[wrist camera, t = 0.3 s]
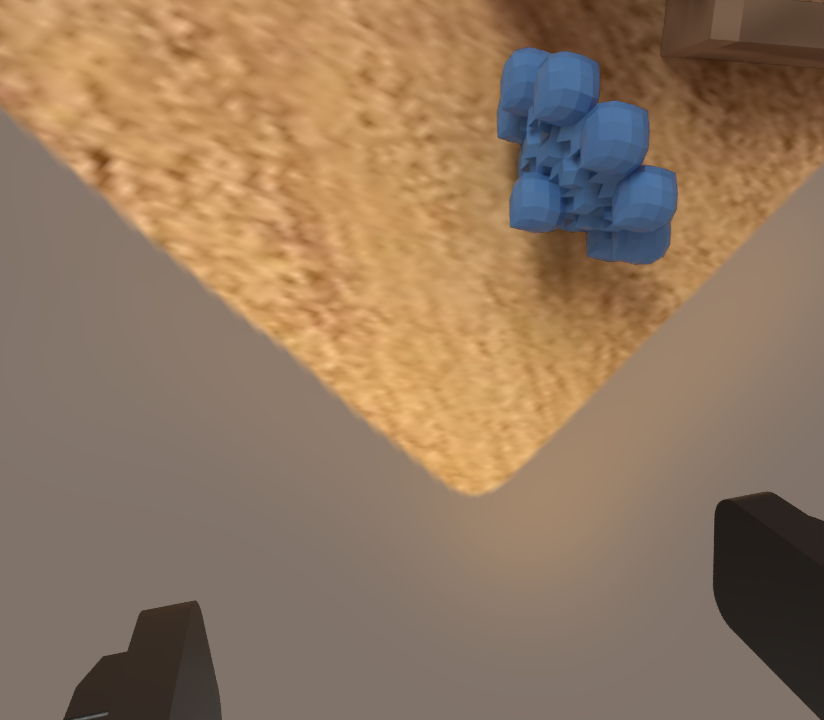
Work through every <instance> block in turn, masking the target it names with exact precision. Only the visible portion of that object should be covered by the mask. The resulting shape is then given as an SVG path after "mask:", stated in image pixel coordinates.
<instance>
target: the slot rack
mask: <svg viewBox="0 0 824 720" xmlns="http://www.w3.org/2000/svg"><path fill="white" fill-rule="evenodd" d="M661 56H672V57H685V58H698V59H711V60H724V61H736V62H749V63H762V64H775V65H788V66H801V67H814V68H824V3H818V2H808V1H798V0H667V3H666V12H665V21H664V30H663V39H662V48H661Z"/></svg>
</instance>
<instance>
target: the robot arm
mask: <svg viewBox="0 0 824 720" xmlns="http://www.w3.org/2000/svg"><path fill="white" fill-rule="evenodd" d="M714 520H715V521H714V564H713V590H714V596H715V600H716V603H717V606H718V609H719V611H720V613H721V615H722V617H723V619H724V620H725V622H726V623H727V624H728V626H729V627H730V628H731V629H732V630H733V631H734V632H735V633H736V634H737V635H738V636H739V637H740V638H741V639H742V640H743V641H744V642H745V643H746V644H747V645H748V646H749V647H750V648H751V649H752V650H753V651H754V652H755V653H756V654H757V656H758V657H760V659H762V661H763V662H764V663H765V664H766V665H767V666H768V667H769V668H770V669H771V670H772V671H773V672H774V673H775V674H776V675H777V676H778V677H779V678H780V679H781V680H782V681H783V682H784V683H785V684H786V685H787V686H788V687H789V688H790V689H791V690H792V691H793V692H794V693H795V694H796V695H797V696H798V697H799V698H800V699H801V700H802V701H803V702H804V703H805V704H806V705H807V706H808V707H809V708H810V709H811V710H812V711H813V712H814V713H815V714H816V715H817V716H818V717H819V718H820V720H824V521H822V520H819V519H817V518H814V517H811V516H808V515H807V514H805V513H804V512H802V511H801V510H799V509H798V508H796V507H794V506H793V505H791V504H790V503H788V502H787V501H785V500H784V499H782V498H781V497H779V496H778V495H776V494H774V493H772V492H761V493H756V494H751V495H745V496H740V497H735V498H730V499H725V500H722V501H720V502H719V503H718V505H717V507H716V510H715V519H714ZM63 720H222V717H221V704H220V696H219V690H218V685H217V681H216V676H215V671H214V667H213V663H212V658H211V653H210V649H209V644H208V639H207V635H206V631H205V626H204V621H203V616H202V613H201V609H200V606H199V604H198V602H197V601H190V602H184V603H179V604H174V605H169V606H164V607H159V608H154V609H148V610H143V611H141V613H140V614H139V616H138V619H137V623H136V626H135V629H134V632H133V635H132V638H131V642H130V645H129V648H128V651H127V652H123V653H118V654H113V655H108V656H103V657H102V658H101V659H100V661H99V662H98V663H97V664H96V665H95V666H94V667H93V668H92V670H91V671H90V672H89V673H88V674H87V675H86V676H85V678H84V679H83V680H82V681H81V682H80V683H79V685H78V686H77V687H76V689H75V691H74V694H73V696H72V699H71V701H70V704H69V707H68V709H67V712H66V714H65V717H64V719H63Z"/></svg>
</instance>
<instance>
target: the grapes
mask: <svg viewBox="0 0 824 720" xmlns="http://www.w3.org/2000/svg"><path fill="white" fill-rule="evenodd" d="M500 93H501V98H500V102H499V106H498V110H497V133H498V138H500V139H503V140H506V141H509V142H513V143H517V144H521V149H520V153H519V156H518V179H517V180H516V181H515V183H514V186H513V190H512V193H511V197H510V227H512V228H516V229H519V230H523V231H528V232H532V233H541V232H551V231H554V230H555V229H556V228H557V229H560V230H564V231H569V232H587V238H586V248H587V257H591V258H595V259H599V260H603V261H607V262H615V261H622V262H626V263H631V264H635V265H638V264H651V263H653V262H655V261H657V260H659V259H660V258H662V257H664V255H665V253H666V251H667V249H668V247H669V245H670V237H671V220H672V218H673V216H674V214H675V212H676V209H677V197H678V190H677V180H676V173H675V172H672V171H670V170H667V169H664V168H660V167H655V166H651V165H642V163H643V160H644V158H645V155H646V153H647V151H648V146H649V117H648V111H647V110H645V109H642V108H640V107H638V106H636V105H632V104H628V103H624V102H620V101H615V100H614V101H608V102H603V103H598V100H599V94H600V68H599V63H598V62H596V61H594V60H592V59H590V58H588V57H586V56H583V55H581V54H577V53H572V52H568V51H562V52H557V53H553V54H551V53H549V52H546V51H543V50H539V49H535V48H531V47H527V48H522V49H518V50H515V51H514V52H513V53H512V55H511V56H510V57H509V58H508V59H507V61H506V62H505V64H504V68H503V72H502V76H501V81H500ZM597 103H598V104H597ZM640 165H641V166H640Z"/></svg>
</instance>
